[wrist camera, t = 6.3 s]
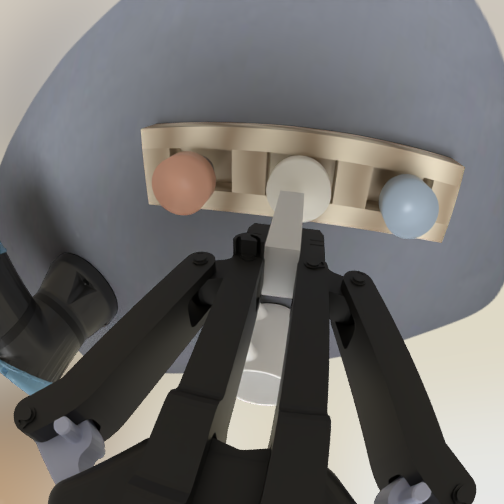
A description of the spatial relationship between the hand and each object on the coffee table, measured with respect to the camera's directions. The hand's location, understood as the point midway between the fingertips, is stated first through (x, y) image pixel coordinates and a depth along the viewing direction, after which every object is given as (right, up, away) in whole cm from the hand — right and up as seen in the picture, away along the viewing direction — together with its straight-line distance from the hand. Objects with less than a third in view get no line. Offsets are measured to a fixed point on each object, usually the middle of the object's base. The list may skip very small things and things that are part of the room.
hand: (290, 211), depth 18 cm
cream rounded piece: (+2, +4, +6) cm, 8 cm away
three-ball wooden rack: (+2, +5, +8) cm, 10 cm away
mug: (0, -11, +20) cm, 22 cm away
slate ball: (+11, +3, +5) cm, 12 cm away
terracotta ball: (-7, +5, +7) cm, 11 cm away
